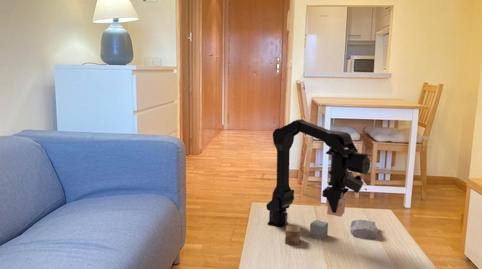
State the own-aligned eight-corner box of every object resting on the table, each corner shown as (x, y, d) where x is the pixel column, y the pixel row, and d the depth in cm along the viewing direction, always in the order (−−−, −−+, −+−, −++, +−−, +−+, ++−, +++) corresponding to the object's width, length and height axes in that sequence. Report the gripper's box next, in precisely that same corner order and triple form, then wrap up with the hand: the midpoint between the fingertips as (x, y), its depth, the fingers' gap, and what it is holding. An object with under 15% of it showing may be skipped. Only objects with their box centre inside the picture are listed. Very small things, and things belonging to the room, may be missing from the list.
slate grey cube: (309, 235, 156) (310, 223, 155) (315, 231, 160) (316, 219, 159) (321, 239, 153) (322, 226, 152) (327, 235, 157) (328, 222, 156)
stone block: (352, 242, 156) (379, 240, 154) (350, 230, 155) (377, 227, 153) (350, 231, 167) (375, 228, 165) (348, 219, 167) (373, 217, 165)
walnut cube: (285, 243, 149) (285, 230, 148) (286, 238, 154) (286, 225, 153) (298, 245, 148) (299, 232, 147) (299, 239, 153) (300, 226, 152)
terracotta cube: (327, 214, 146) (328, 200, 145) (330, 209, 150) (331, 196, 149) (341, 216, 144) (342, 203, 143) (344, 212, 148) (345, 199, 147)
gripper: (357, 177, 132) (353, 223, 135) (367, 165, 149) (363, 206, 152) (323, 173, 137) (320, 217, 140) (336, 161, 154) (333, 201, 156)
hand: (335, 210), depth 147 cm, fingers closed on terracotta cube, 5 cm apart
